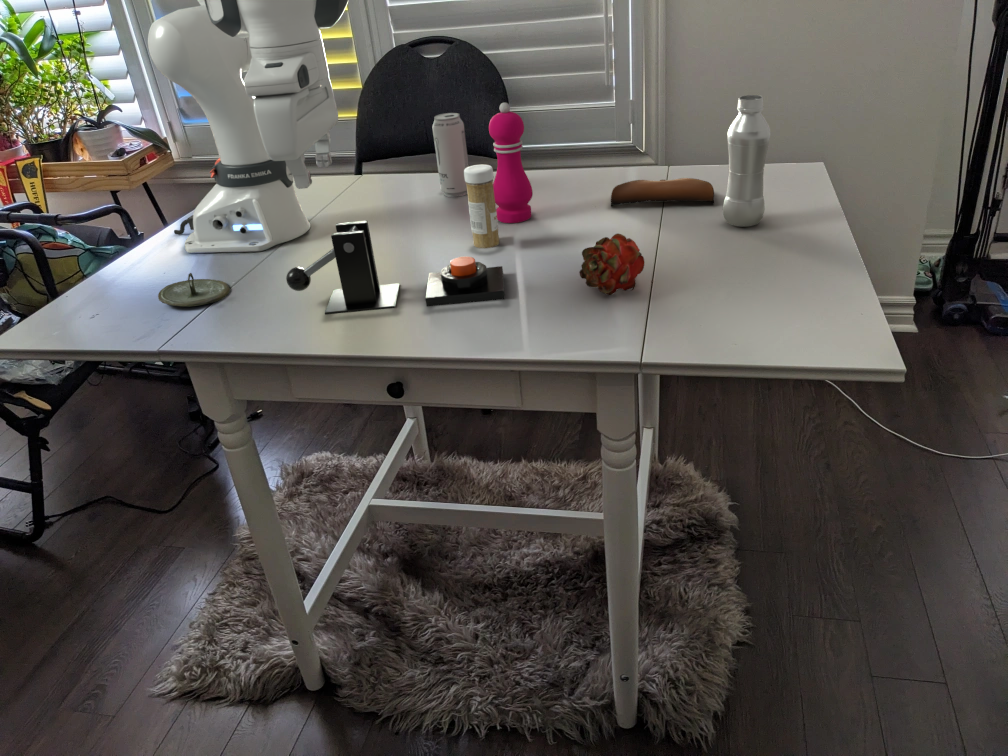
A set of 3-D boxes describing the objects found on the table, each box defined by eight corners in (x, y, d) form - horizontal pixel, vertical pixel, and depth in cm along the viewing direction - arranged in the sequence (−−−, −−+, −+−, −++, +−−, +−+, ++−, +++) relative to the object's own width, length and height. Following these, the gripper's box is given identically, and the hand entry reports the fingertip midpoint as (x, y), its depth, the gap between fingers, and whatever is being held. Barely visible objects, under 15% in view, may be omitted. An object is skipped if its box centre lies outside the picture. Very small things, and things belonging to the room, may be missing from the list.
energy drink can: (439, 191, 162) (428, 115, 154) (468, 186, 163) (459, 110, 155) (444, 199, 157) (433, 121, 149) (474, 194, 158) (465, 116, 150)
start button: (451, 278, 113) (449, 267, 112) (451, 268, 116) (450, 257, 115) (476, 276, 113) (475, 264, 112) (476, 266, 116) (475, 255, 115)
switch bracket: (326, 320, 114) (308, 241, 108) (335, 296, 121) (318, 221, 115) (396, 313, 113) (382, 234, 107) (401, 290, 120) (388, 214, 114)
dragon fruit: (594, 318, 110) (618, 293, 120) (644, 286, 105) (665, 264, 116) (559, 266, 109) (586, 246, 119) (608, 232, 105) (632, 214, 115)
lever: (295, 299, 114) (278, 281, 113) (300, 289, 117) (284, 272, 116) (365, 248, 111) (349, 229, 109) (368, 239, 114) (353, 220, 112)
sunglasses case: (713, 188, 146) (714, 162, 140) (713, 218, 143) (715, 193, 137) (613, 191, 150) (611, 166, 144) (611, 221, 147) (609, 197, 141)
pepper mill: (542, 216, 143) (534, 101, 133) (509, 227, 140) (498, 109, 130) (519, 208, 148) (509, 95, 138) (486, 218, 145) (474, 104, 135)
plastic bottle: (748, 214, 134) (756, 90, 124) (772, 226, 129) (782, 97, 119) (714, 221, 133) (719, 97, 123) (736, 234, 127) (744, 104, 117)
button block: (427, 312, 113) (423, 286, 111) (431, 286, 121) (427, 261, 119) (505, 305, 113) (502, 278, 111) (503, 279, 120) (501, 254, 118)
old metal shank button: (156, 313, 125) (140, 288, 122) (206, 276, 130) (191, 251, 126) (194, 331, 119) (177, 305, 116) (244, 292, 124) (230, 266, 120)
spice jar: (506, 248, 131) (498, 166, 125) (482, 255, 129) (473, 173, 123) (491, 241, 135) (482, 161, 128) (467, 248, 133) (458, 168, 126)
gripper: (293, 56, 109) (314, 157, 116) (237, 84, 92) (267, 201, 99) (337, 51, 109) (357, 153, 116) (290, 79, 91) (316, 198, 98)
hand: (315, 176), depth 107 cm, fingers open, 8 cm apart
